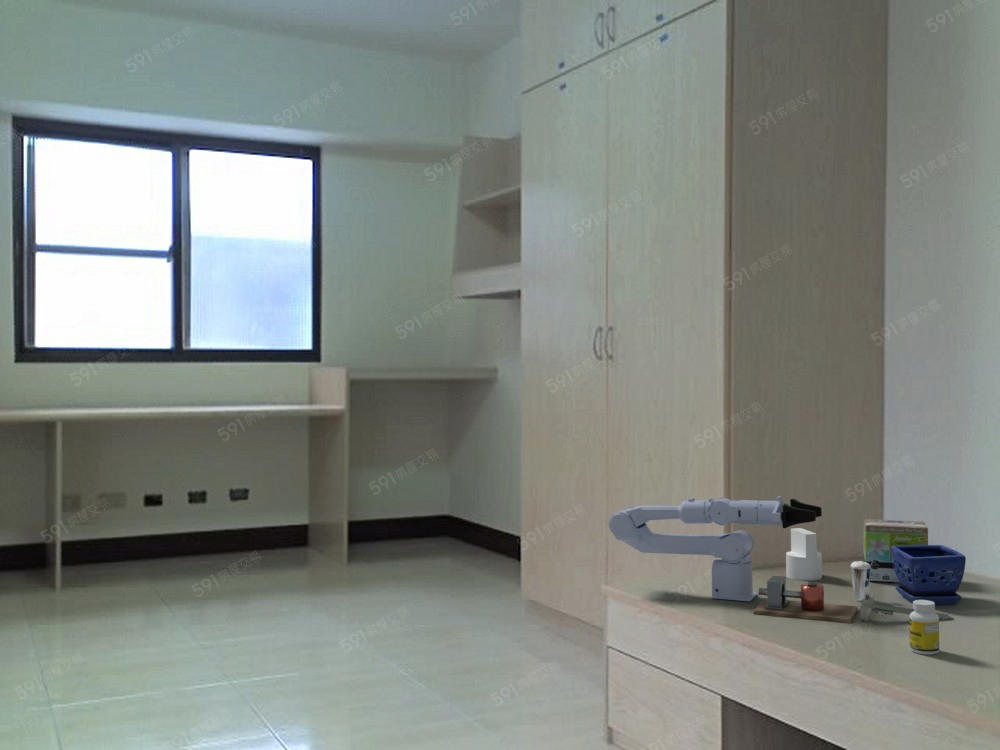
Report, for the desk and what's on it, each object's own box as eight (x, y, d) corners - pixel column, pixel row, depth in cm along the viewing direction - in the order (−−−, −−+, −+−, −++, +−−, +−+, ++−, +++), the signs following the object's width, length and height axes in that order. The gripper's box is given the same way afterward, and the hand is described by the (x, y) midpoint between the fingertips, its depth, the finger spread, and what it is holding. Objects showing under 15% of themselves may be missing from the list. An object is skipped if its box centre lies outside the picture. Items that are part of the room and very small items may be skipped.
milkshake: (876, 602, 241) (875, 560, 241) (852, 601, 242) (851, 559, 242) (873, 597, 245) (872, 556, 245) (849, 597, 246) (849, 555, 246)
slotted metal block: (764, 609, 234) (764, 582, 234) (771, 600, 241) (771, 574, 241) (782, 610, 232) (781, 583, 232) (789, 602, 239) (788, 576, 239)
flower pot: (969, 606, 235) (968, 555, 235) (911, 608, 235) (910, 556, 235) (943, 592, 249) (943, 544, 248) (889, 594, 248) (888, 545, 248)
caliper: (862, 623, 224) (862, 594, 224) (860, 622, 225) (860, 593, 225) (954, 620, 225) (953, 591, 225) (951, 619, 226) (951, 590, 226)
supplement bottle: (904, 647, 205) (904, 599, 205) (930, 646, 205) (930, 598, 205) (918, 656, 199) (917, 606, 199) (944, 654, 200) (944, 604, 200)
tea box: (865, 582, 261) (864, 524, 261) (863, 573, 271) (862, 518, 270) (928, 585, 257) (928, 526, 256) (924, 576, 266) (924, 519, 266)
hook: (757, 605, 236) (756, 581, 236) (761, 600, 241) (761, 576, 241) (822, 611, 230) (821, 586, 230) (825, 606, 234) (825, 581, 234)
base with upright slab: (780, 574, 273) (779, 529, 272) (811, 571, 274) (811, 527, 274) (796, 581, 264) (795, 535, 263) (828, 579, 265) (827, 533, 265)
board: (753, 613, 233) (753, 610, 233) (764, 601, 244) (764, 598, 244) (850, 622, 224) (850, 619, 224) (857, 609, 235) (857, 606, 235)
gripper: (752, 499, 239) (812, 500, 233) (766, 492, 252) (823, 493, 246) (753, 529, 239) (813, 531, 233) (767, 520, 252) (824, 522, 246)
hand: (818, 514), depth 239 cm, fingers open, 7 cm apart
